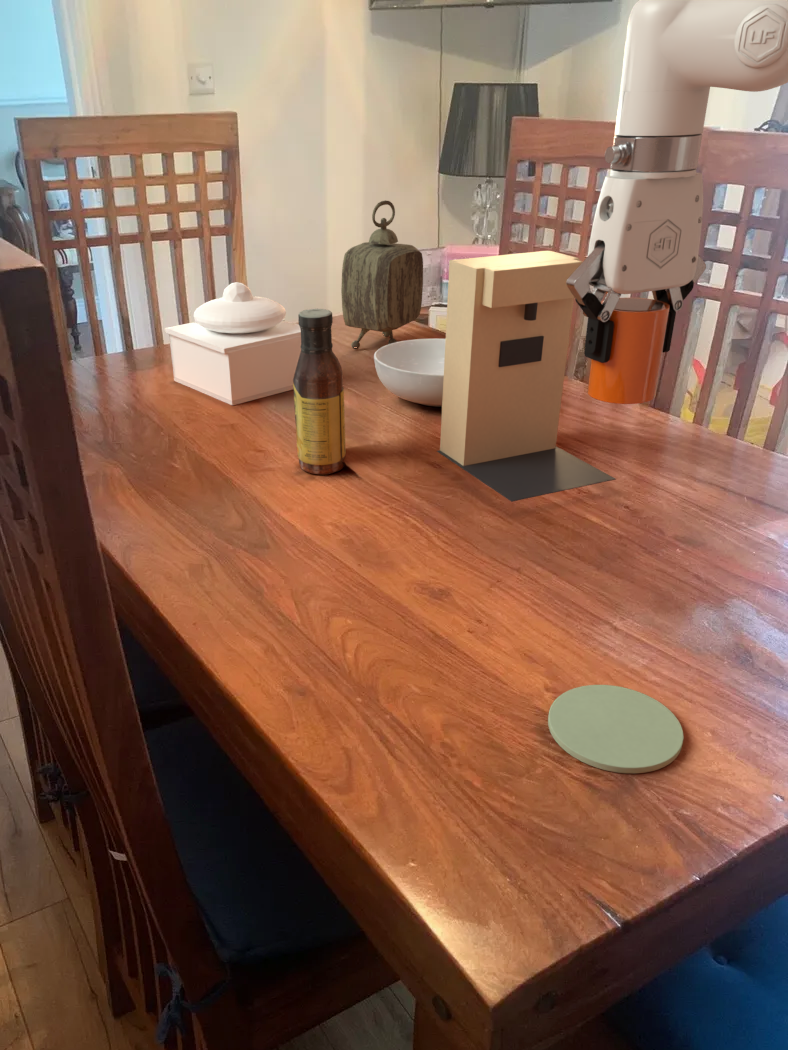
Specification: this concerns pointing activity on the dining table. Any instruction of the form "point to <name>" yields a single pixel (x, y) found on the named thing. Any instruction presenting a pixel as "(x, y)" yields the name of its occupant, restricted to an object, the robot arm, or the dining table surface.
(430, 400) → the serving bowl
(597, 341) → the robot arm
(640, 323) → the orange cup
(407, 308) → the tabletop clock
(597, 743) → the coaster
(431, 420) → the dining table surface
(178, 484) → the dining table surface
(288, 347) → the white lidded box
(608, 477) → the coffee maker
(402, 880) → the dining table surface
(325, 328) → the sauce bottle
